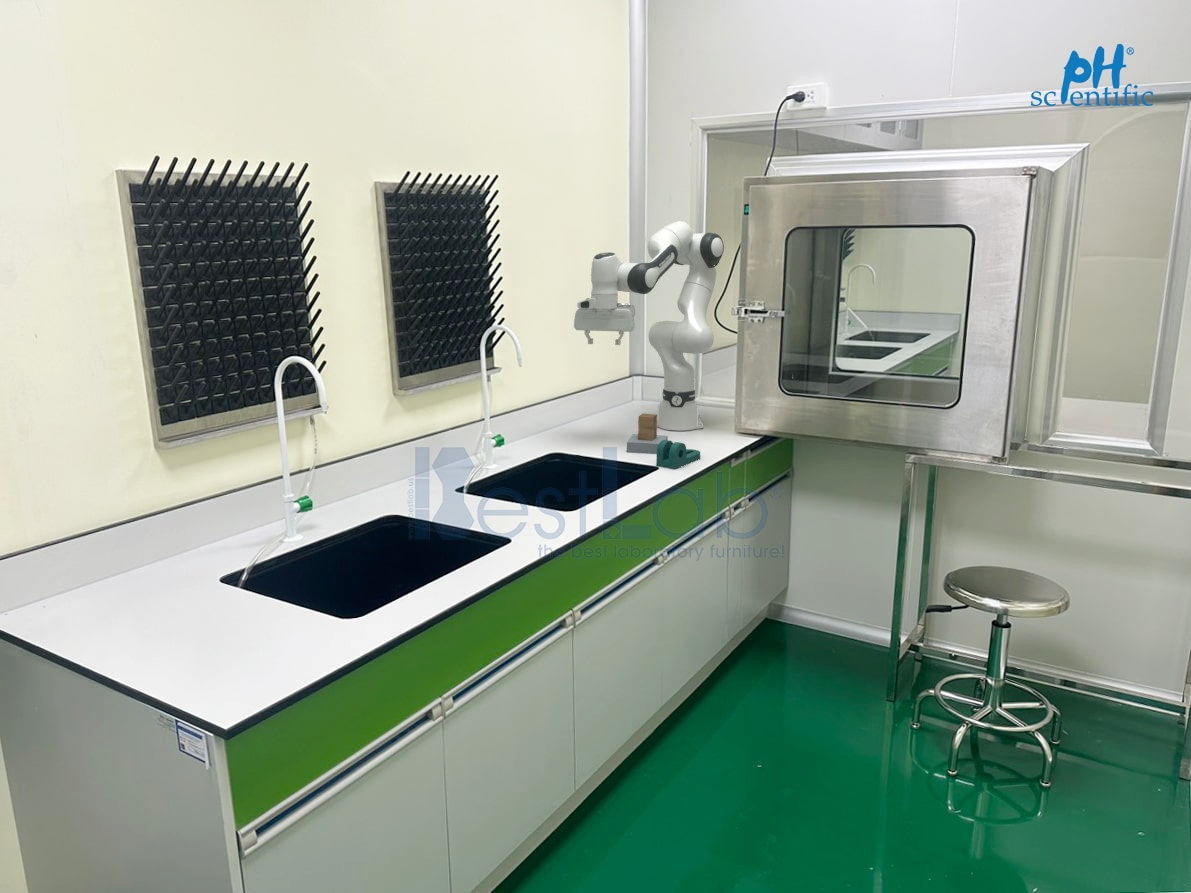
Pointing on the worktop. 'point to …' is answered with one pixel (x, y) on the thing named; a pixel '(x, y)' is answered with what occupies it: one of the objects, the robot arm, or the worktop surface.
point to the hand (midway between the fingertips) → (604, 344)
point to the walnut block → (647, 427)
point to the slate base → (644, 444)
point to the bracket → (675, 455)
